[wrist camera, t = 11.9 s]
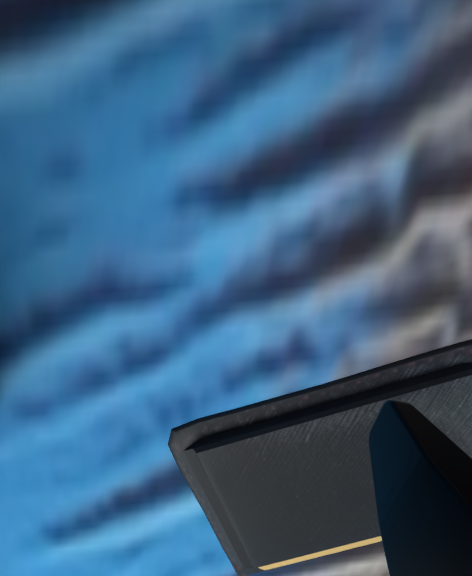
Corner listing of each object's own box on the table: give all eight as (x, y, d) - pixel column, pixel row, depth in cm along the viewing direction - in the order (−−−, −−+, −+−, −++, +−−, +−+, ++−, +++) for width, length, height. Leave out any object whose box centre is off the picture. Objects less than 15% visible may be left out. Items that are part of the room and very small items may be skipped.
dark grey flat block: (522, 343, 21) (520, 529, 28) (499, 325, 23) (502, 503, 29) (154, 439, 23) (232, 595, 29) (158, 415, 24) (231, 567, 31)
